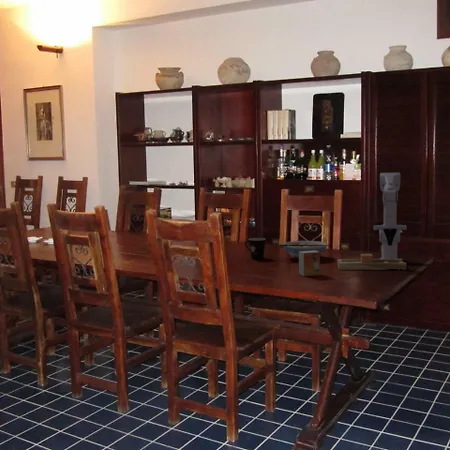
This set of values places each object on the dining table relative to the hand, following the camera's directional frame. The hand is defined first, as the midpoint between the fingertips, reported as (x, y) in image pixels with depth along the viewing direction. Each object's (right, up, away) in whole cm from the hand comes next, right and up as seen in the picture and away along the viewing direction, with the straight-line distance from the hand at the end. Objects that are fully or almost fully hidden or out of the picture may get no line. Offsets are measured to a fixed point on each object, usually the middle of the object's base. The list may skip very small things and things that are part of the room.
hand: (389, 245), depth 283 cm
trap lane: (-8, -10, +2) cm, 13 cm away
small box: (-39, -13, -11) cm, 42 cm away
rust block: (-10, -8, +2) cm, 13 cm away
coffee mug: (-60, -8, +35) cm, 70 cm away
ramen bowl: (-35, -8, +30) cm, 47 cm away
